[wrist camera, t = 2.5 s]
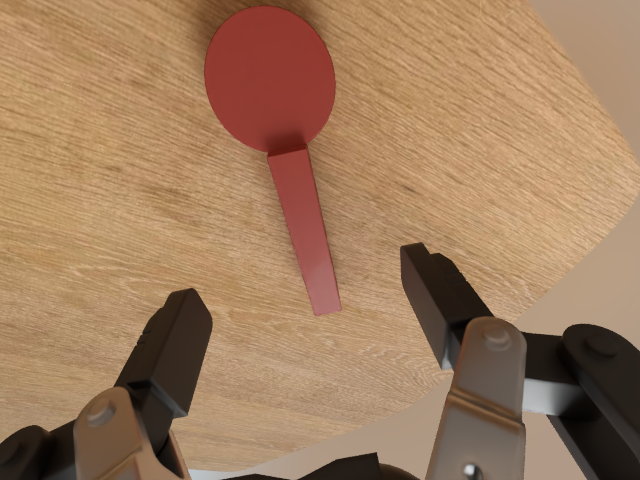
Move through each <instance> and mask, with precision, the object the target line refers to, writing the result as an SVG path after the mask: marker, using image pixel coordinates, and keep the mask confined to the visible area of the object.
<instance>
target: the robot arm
mask: <svg viewBox="0 0 640 480" xmlns="http://www.w3.org/2000/svg"><path fill="white" fill-rule="evenodd" d="M400 259H401V279H402V284H403V288H404V291H405V293H406V295H407V297H408V300H409V302H410V304H411V306H412V308H413V310H414V312H415V314H416V317H417V319H418V321H419V323H420V325H421V327H422V329H423V331H424V334H425V336H426V338H427V340H428V342H429V344H430V346H431V348H432V351H433V353H434V355H435V357H436V359H437V361H438V363H439V365H440V368H441V370H445V369H451V368H452V369H453V371H454V376H453V380H452V384H451V387H450V391H449V392H448V394H447V397H446V401H445V405H444V408H443V412H442V416H441V420H440V424H439V428H438V431H437V435H436V439H435V443H434V447H433V451H432V454H431V458H430V462H429V466H428V470H427V474H426V477H425V480H523V479H524V462H525V445H526V429H525V424H524V423H522V410H524V411H530V412H536V413H543V414H546V416H547V417H548V419H549V420H550V422H551V423H552V425H553V427H554V428H555V430H556V431H557V433H558V434H559V436H560V438H561V439H562V441H563V442H564V444H565V445H566V447H567V448H568V450H569V452H570V453H571V455H572V456H573V458H574V459H575V461H576V463H577V464H578V466H579V467H580V469H581V470H582V472H583V474H584V475H585V477H586V478H587V480H640V351H639V350H638V349H637V348H635V347H634V346H633V345H632V344H631V343H630V342H629V341H628V340H626V339H625V338H623V337H622V336H620V335H619V334H617V333H615V332H613V331H611V330H609V329H606V328H603V327H600V326H596V325H591V324H576V325H572V326H570V327H568V328H567V329H566V330H565V331H564V333H563V335H562V336H555V335H544V334H532V333H526V332H522V331H519V330H518V329H517V328H516V327H515V326H514V325H512V324H510V323H509V322H507V321H505V320H502V319H499V318H496V317H495V316H494V315H493V314H492V313H491V311H490V310H489V309H488V307H487V306H486V305H485V304H484V302H483V301H482V300H481V298H480V297H479V296H478V294H477V293H476V292H475V290H474V289H473V288H472V287H471V285H470V284H469V283H468V281H466V279H465V277H464V276H463V275H462V273H460V272H459V270H458V268H457V267H456V266H455V264H454V263H453V262H452V260H450V259H449V258H447V257H445V256H444V255H442V254H440V253H435V254H430V253H429V251H428V250H427V249H426V247H425V246H424V244H423V243H422V242H419V243H414V244H409V245H404V246H401V248H400ZM212 327H213V322H212V317H211V314H210V312H209V311H208V309H207V308H206V306H205V304H204V303H203V301H202V299H201V298H200V296H199V295H198V293H197V291H196V290H195V289H193V288H189V289H185V290H180V291H175V292H172V293H170V295H169V296H168V298H167V300H166V302H165V304H164V306H163V308H160V309H159V310H158V311H157V312H156V313H155V314H154V315H153V316H152V317H151V318H150V319H149V321H148V323H147V325H146V327H145V328H144V330H143V332H142V333H143V335H141V336H140V338H139V340H138V342H137V345H136V346H135V347H134V349H133V351H132V353H131V355H130V357H129V358H128V360H127V362H126V364H125V366H124V368H123V370H122V372H121V373H120V375H119V377H118V379H117V381H116V383H115V385H114V386H113V387H112V388H109V389H107V390H105V391H103V392H101V393H100V394H98V395H97V396H96V397H94V398H93V399H92V400H91V401H90V402H89V403H88V404H87V405H86V406H85V407H84V408H83V410H82V411H81V412H80V414H79V415H78V417H77V419H75V420H73V421H71V422H69V423H67V424H65V425H63V426H61V427H58V428H56V429H54V430H52V431H50V432H48V431H47V430H45V429H43V428H42V427H40V426H37V425H32V426H28V427H25V428H22V429H20V430H19V431H17V432H15V433H14V434H12V435H11V436H9V437H8V438H7V439H5V440H4V441H3V442H2V443H1V444H0V480H192V479H191V477H190V474H189V472H188V469H187V467H186V464H185V461H184V459H183V456H182V454H181V451H180V448H179V446H178V443H177V441H176V438H175V435H174V433H173V431H172V430H171V429H170V426H171V423H172V420H173V419H174V418H180V417H185V416H187V415H188V412H189V408H190V405H191V401H192V398H193V394H194V391H195V387H196V384H197V380H198V377H199V373H200V370H201V366H202V363H203V360H204V356H205V353H206V349H207V346H208V342H209V339H210V335H211V332H212ZM222 480H289V479H283V478H277V477H271V476H266V475H260V474H251V475H245V476H240V477H234V478H228V479H222ZM298 480H420V479H418V478H417V477H415V476H414V475H412V474H410V473H409V472H406V471H404V470H402V469H400V468H397V467H394V466H391V465H387V464H381V463H379V461H378V456H377V452H376V453H370V454H364V455H359V456H354V457H347V458H342V459H337V460H335V461H333V462H331V463H329V464H327V465H325V466H323V467H321V468H319V469H317V470H315V471H314V472H312V473H310V474H308V475H306V476H304V477H302V478H300V479H298Z"/></svg>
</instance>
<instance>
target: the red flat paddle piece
mask: <svg viewBox="0 0 640 480" xmlns="http://www.w3.org/2000/svg"><path fill="white" fill-rule="evenodd" d="M204 76H205V86H206V91H207V95H208V98H209V102H210V104H211V106H212V109H213V111H214V113H215V114H216V116H217V118H218V120H219V121H220V122H221V124H222V125H223V126H224V128H225V129H226V130H227V131H228V132H229V133H230V134H231V135H232V136H234V137H235V138H236V139H237V140H239V141H240V142H242V143H243V144H245V145H247V146H249V147H251V148H253V149H256V150H259V151H263V152H268V155H267V160H268V163H269V166H270V169H271V173H272V176H273V179H274V183H275V186H276V189H277V193H278V196H279V199H280V202H281V206H282V209H283V212H284V216H285V219H286V222H287V226H288V229H289V232H290V235H291V239H292V242H293V245H294V249H295V252H296V255H297V259H298V262H299V265H300V269H301V272H302V275H303V278H304V282H305V285H306V288H307V292H308V295H309V298H310V302H311V305H312V308H313V311H314V315H315V316H318V315H323V314H329V313H334V312H339V311H342V308H341V302H340V297H339V292H338V287H337V282H336V277H335V273H334V268H333V263H332V259H331V254H330V249H329V245H328V240H327V235H326V231H325V226H324V221H323V217H322V212H321V207H320V203H319V198H318V193H317V189H316V184H315V179H314V175H313V170H312V165H311V161H310V156H309V152H308V147H307V143H308V142H310V141H311V140H312V139H313V138H315V137H316V135H317V134H318V133H319V132H320V131H321V130H322V128H323V127H324V125H325V124H326V122H327V120H328V118H329V116H330V113H331V111H332V107H333V103H334V98H335V84H336V83H335V73H334V68H333V63H332V60H331V57H330V54H329V52H328V50H327V48H326V46H325V44H324V42H323V41H322V39H321V37H320V36H319V35H318V34H317V32H316V31H315V30H314V29H313V28H312V27H311V26H310V25H309V24H308V23H307V22H306V21H305V20H304V19H302V18H301V17H299V16H298V15H296V14H294V13H292V12H291V11H289V10H286V9H283V8H280V7H275V6H268V5H259V6H253V7H249V8H246V9H243V10H240V11H239V12H237V13H235V14H233V15H232V16H231V17H229V18H228V19H227V20H225V22H224V23H223V24H222V25H221V26H220V27H219V28H218V30H217V31H216V33H215V34H214V36H213V38H212V40H211V42H210V44H209V47H208V51H207V54H206V59H205V69H204Z"/></svg>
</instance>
